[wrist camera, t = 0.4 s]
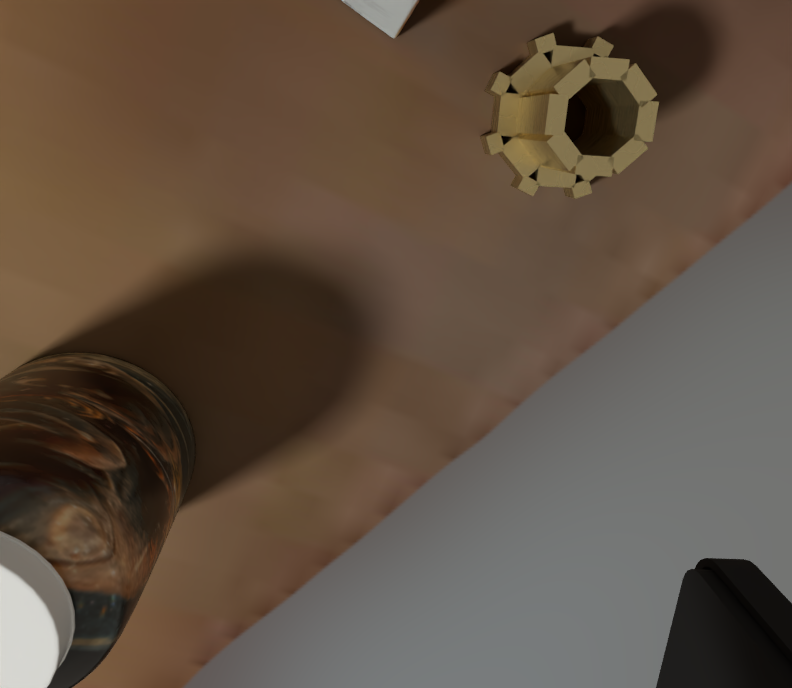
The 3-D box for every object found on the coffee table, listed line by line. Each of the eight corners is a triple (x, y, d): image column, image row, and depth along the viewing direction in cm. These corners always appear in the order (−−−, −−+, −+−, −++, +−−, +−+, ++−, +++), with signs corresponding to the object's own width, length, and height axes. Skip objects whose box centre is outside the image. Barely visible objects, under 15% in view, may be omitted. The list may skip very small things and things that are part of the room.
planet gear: (490, 32, 33) (524, 11, 27) (639, 44, 33) (706, 26, 27) (474, 190, 35) (502, 204, 29) (615, 198, 36) (671, 214, 30)
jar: (139, 570, 41) (29, 812, 26) (-57, 486, 38) (-297, 704, 24) (231, 411, 38) (164, 585, 24) (27, 308, 35) (-188, 434, 21)
